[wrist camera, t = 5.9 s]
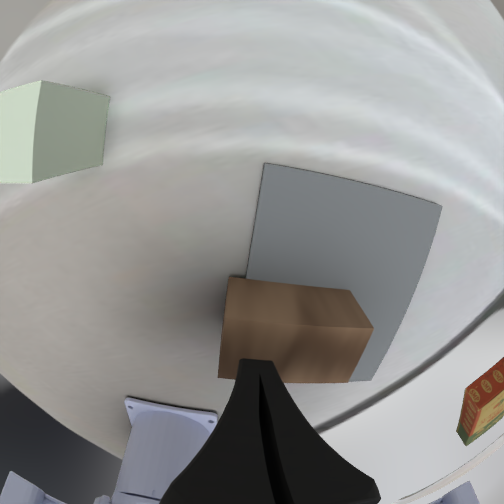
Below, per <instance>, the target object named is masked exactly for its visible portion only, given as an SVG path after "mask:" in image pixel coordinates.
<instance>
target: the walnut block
mask: <svg viewBox="0 0 504 504" xmlns="http://www.w3.org/2000/svg"><path fill="white" fill-rule="evenodd" d="M373 330H374V327H373V326H372V324H371V322H370V321H369V319H368V318H367V316H366V315H365V313H364V311H363V310H362V308H361V307H360V305H359V304H358V302H357V301H356V299H355V297H354V296H353V294H352V293H351V291H350V290H345V289H334V288H324V287H315V286H305V285H296V284H287V283H278V282H269V281H261V280H252V279H244V278H236V277H229V279H228V286H227V294H226V302H225V310H224V318H223V326H222V335H221V346H220V357H219V369H218V378H225V379H235V380H236V375H237V369H238V364H239V360H240V359H242V358H246V359H257V360H270V361H273V362H274V365H275V367H276V369H277V371H278V373H279V376H280V378H281V380H282V381H283V383H348V381H349V379H350V377H351V376H352V374H353V372H354V370H355V368H356V366H357V364H358V362H359V360H360V358H361V356H362V354H363V352H364V350H365V348H366V345H367V343H368V341H369V339H370V337H371V335H372V332H373Z"/></svg>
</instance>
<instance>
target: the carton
mask: <svg viewBox="0 0 504 504" xmlns="http://www.w3.org/2000/svg"><path fill="white" fill-rule="evenodd" d="M463 399H464V400H463V405H462V409H461V415H460V419H459V423H458V427H457V430H456V432H457V433H458V435H459V436H460V438H461V439H462V441H463V443H464V444H465V446H467V445H469V444H470V443H471V442H473V441H474V440H475V439H477V438H478V437H480V436H481V435H482V434H484V433H485V432H486V431H487V430H488V429H490V428H491V427H492V426H493V425H495V424H496V423H497V422H498V421H499V420H500V419H501V418H502V417H503V416H504V357H503V358H502V359H501V360H500V361H499V362H497V363H496V364H495V365H494V366H493V367H492V368H490V369H489V370H488V371H487V372H485V373H484V374H483V375H482V376H480V377H479V378H478V379H477V380H475V381H474V382H473V383H472V384H470V385H469V386H468V387H467V388H466V389H465V394H464V398H463Z"/></svg>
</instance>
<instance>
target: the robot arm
mask: <svg viewBox="0 0 504 504" xmlns="http://www.w3.org/2000/svg"><path fill="white" fill-rule="evenodd" d="M124 403H125V406H126V409H127V413H128V416H129V419H130V422H131V425H132V429H131V433H130V436H129V439H128V443H127V446H126V450H125V454H124V457H123V461H122V465H121V469H120V473H119V476H118V480H117V484H116V488H115V491H114V493H113V496H112V498H111V502H110V497H108V496H105V495H103V496H102V497H98V498H96V499H95V501H94V504H377V503H379V501H380V500H381V497H380V494H379V490H378V487H377V485H376V483H375V481H374V479H372V478H371V477H369V476H368V475H366V474H364V473H363V472H361V471H360V470H358V469H357V468H355V467H354V466H353V465H351V464H350V463H349V462H347V461H346V460H345V459H344V458H342V457H341V456H340V455H339V454H338V453H337V452H336V451H335V450H334V449H332V448H331V447H330V446H329V445H328V444H327V443H326V442H325V441H324V440H323V439H322V438H321V437H320V435H319V434H318V433H317V432H316V431H315V430H314V429H313V427H312V426H311V425H310V424H309V422H308V421H307V420H306V418H305V417H304V416H303V414H302V413H301V411H300V410H299V409H298V407H297V406H296V404H295V402H294V401H293V399H292V397H291V396H290V394H289V392H288V391H287V389H286V387H285V385H284V383H283V381H282V380H281V378H280V376H279V373H278V371H277V369H276V367H275V365H274V362H273V361H270V360H257V359H246V358H242V359H240V360H239V364H238V369H237V375H236V380H235V385H234V388H233V391H232V394H231V396H230V399H229V401H228V403H227V405H226V407H225V410H224V412H223V414H222V416H221V418H220V419H219V421H218V423H217V418H218V416H217V414H216V413H213V412H205V411H197V410H190V409H184V408H178V407H172V406H166V405H161V404H156V403H151V402H146V401H142V400H137V399H133V398H126V399H125V401H124ZM0 504H65V503H63V502H61V501H59V500H57V499H55V498H53V497H51V496H49V495H47V494H45V493H44V492H43V491H42V490H41V489H39V488H38V487H37V486H35V485H33V484H32V483H30V482H28V481H27V480H25V479H23V478H22V477H20V476H19V475H17V474H15V473H14V472H12V471H10V473H9V475H8V477H7V480H6V483H5V486H4V488H3V490H2V493H1V496H0ZM429 504H479V501H478V499H477V496H476V494H475V492H474V489H473V487H472V485H471V483H470V481H468V482H466V483H464V484H462V485H460V486H459V487H457V488H455V489H453V490H452V491H450V492H448V493H447V494H445V495H444V496H443V497H442V498H440V499H438V500H436V501H433V502H431V503H429Z"/></svg>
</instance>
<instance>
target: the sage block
mask: <svg viewBox="0 0 504 504" xmlns="http://www.w3.org/2000/svg"><path fill="white" fill-rule="evenodd" d="M109 101H110V96H106V95H102V94H99V93H95V92H91V91H87V90H83V89H79V88H75V87H71V86H66V85H62V84H57V83H52V82H48V81H42V80H41V81H37V82H33V83H29V84H26V85H22V86H18V87H15V88H12V89H9V90H5V91H2V92H0V183H35V182H39V181H42V180H45V179H49V178H52V177H56V176H60V175H63V174H67V173H71V172H75V171H79V170H83V169H87V168H91V167H96V166H100V165H103V151H104V140H105V131H106V122H107V114H108V107H109Z"/></svg>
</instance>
